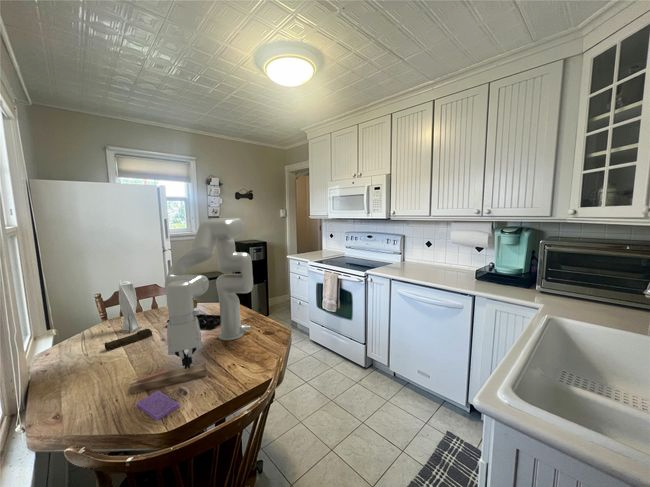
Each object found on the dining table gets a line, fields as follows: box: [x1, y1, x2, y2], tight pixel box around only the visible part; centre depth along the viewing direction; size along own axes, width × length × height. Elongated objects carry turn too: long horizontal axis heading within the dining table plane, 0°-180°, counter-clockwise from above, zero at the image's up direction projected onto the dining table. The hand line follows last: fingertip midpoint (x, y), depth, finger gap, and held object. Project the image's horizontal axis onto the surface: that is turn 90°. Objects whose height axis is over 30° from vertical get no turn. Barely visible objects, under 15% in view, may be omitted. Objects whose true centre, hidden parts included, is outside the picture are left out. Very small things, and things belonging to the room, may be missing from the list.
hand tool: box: [104, 328, 153, 352], centre depth 129 cm, size 19×4×5 cm, turn 139°
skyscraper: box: [118, 278, 143, 334], centre depth 142 cm, size 8×8×28 cm
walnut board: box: [129, 362, 207, 395], centre depth 99 cm, size 24×5×3 cm, turn 114°
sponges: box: [136, 390, 180, 422], centre depth 86 cm, size 7×13×2 cm, turn 59°
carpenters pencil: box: [131, 370, 167, 384], centre depth 97 cm, size 10×1×1 cm, turn 126°
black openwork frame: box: [166, 313, 221, 330], centre depth 151 cm, size 18×30×4 cm, turn 93°
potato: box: [193, 299, 198, 310], centre depth 165 cm, size 8×13×8 cm, turn 140°
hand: (187, 366), depth 93 cm, fingers closed
